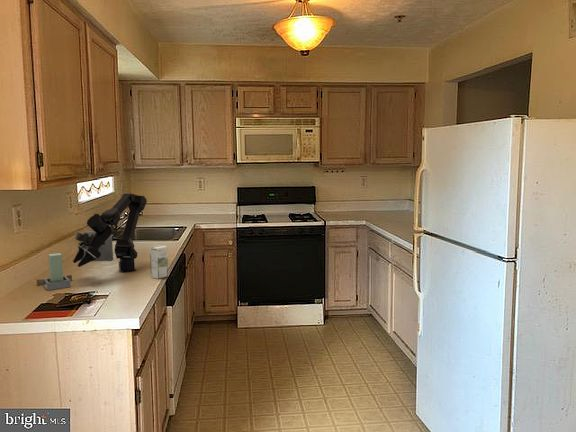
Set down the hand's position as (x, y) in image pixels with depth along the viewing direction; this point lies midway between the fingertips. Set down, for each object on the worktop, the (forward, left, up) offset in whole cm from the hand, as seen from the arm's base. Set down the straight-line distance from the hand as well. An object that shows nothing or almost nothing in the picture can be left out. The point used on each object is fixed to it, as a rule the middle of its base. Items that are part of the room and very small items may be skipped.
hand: (75, 264), depth 210 cm
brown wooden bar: (+8, -7, -9) cm, 14 cm away
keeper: (+8, 0, -9) cm, 12 cm away
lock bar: (+8, 0, -9) cm, 12 cm away
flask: (-20, -43, -9) cm, 48 cm away
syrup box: (-33, +11, -9) cm, 36 cm away
